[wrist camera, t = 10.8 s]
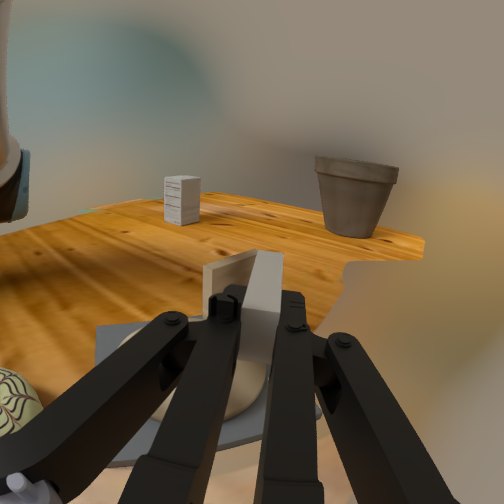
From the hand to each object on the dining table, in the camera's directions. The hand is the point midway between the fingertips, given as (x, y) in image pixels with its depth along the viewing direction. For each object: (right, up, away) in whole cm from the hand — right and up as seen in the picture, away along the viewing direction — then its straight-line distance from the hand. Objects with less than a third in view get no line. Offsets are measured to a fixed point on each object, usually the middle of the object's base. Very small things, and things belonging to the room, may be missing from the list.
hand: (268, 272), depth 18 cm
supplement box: (-21, +10, +65) cm, 68 cm away
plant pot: (+28, +7, +69) cm, 75 cm away
